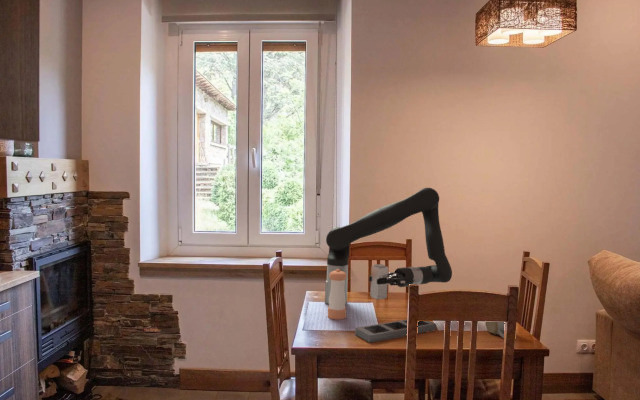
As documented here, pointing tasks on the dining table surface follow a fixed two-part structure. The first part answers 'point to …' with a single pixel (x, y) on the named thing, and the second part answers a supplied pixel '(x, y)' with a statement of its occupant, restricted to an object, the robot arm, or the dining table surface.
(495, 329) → the ceramic mug
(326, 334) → the dining table surface
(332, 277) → the pepper mill
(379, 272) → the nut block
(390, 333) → the grey compartment tray
